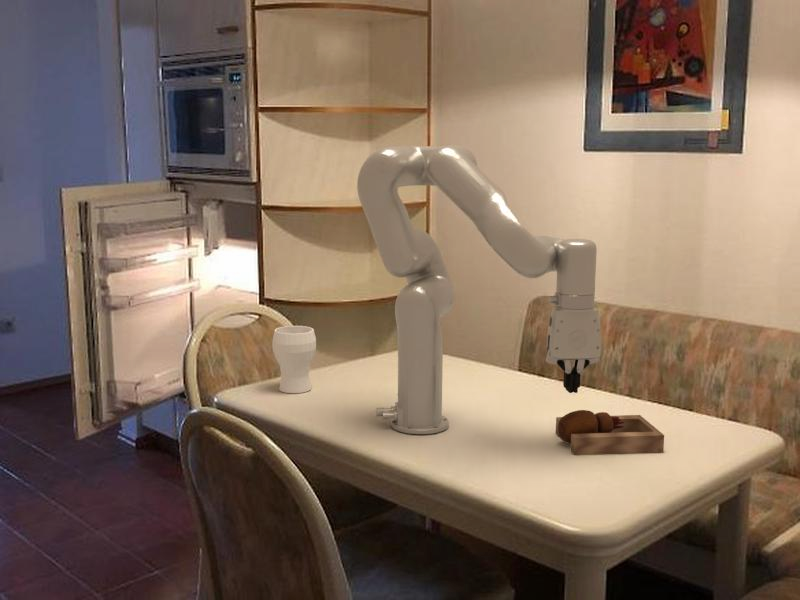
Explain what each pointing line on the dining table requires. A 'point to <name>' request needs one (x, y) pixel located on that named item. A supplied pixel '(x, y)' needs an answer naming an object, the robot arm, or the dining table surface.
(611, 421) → the wooden figurine
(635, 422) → the u rest
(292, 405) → the dining table surface
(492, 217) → the robot arm
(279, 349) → the cup
